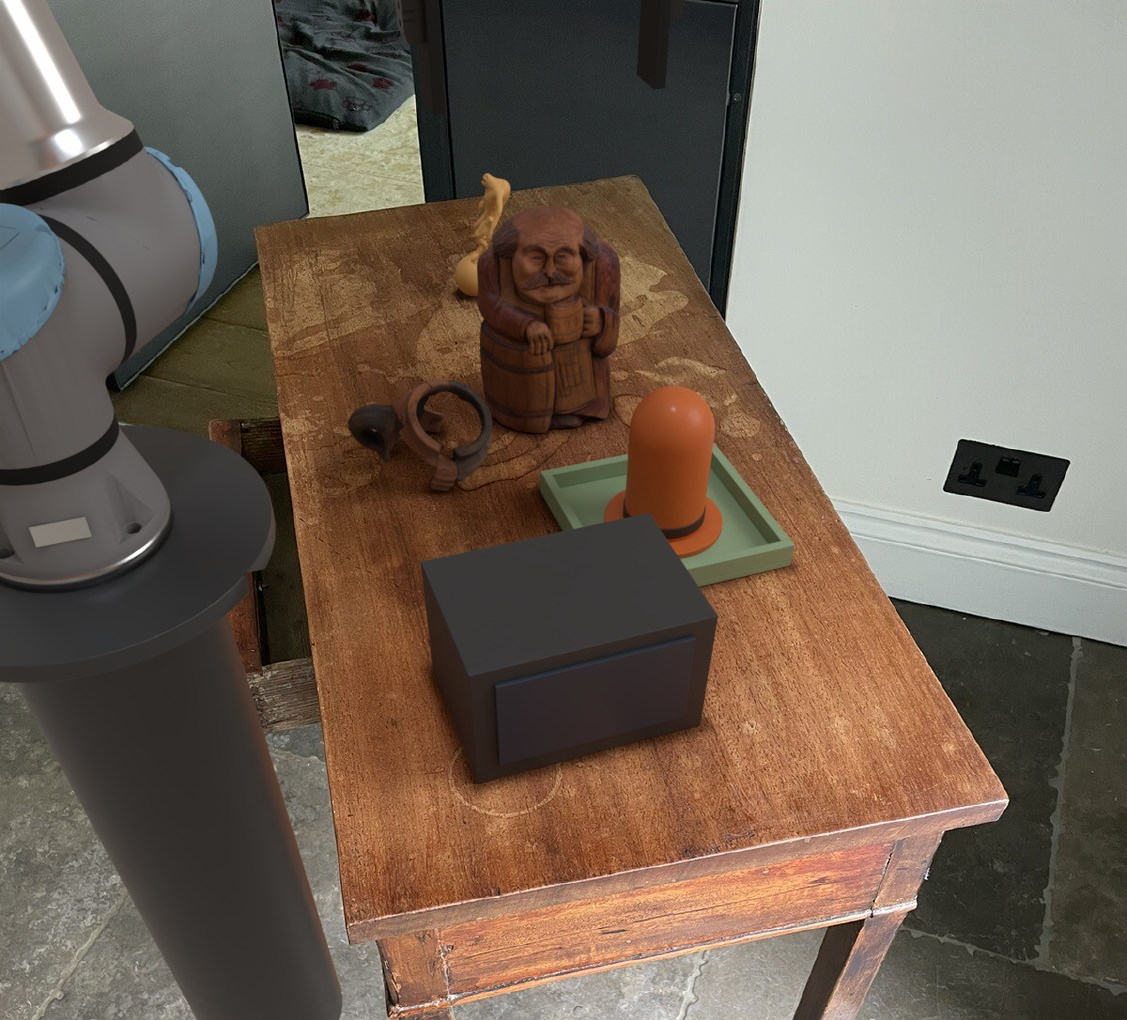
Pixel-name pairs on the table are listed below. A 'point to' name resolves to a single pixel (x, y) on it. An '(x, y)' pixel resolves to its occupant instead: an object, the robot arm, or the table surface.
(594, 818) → the table surface
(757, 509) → the tray
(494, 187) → the figurine
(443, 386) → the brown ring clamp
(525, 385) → the wooden figurine
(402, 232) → the table surface
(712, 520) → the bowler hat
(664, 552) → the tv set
